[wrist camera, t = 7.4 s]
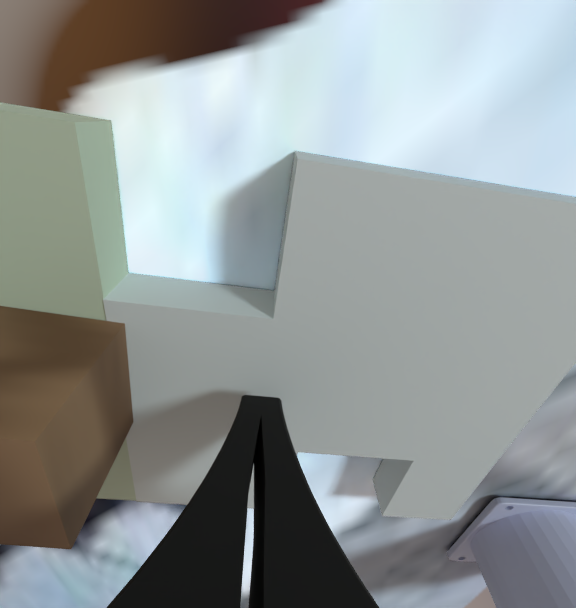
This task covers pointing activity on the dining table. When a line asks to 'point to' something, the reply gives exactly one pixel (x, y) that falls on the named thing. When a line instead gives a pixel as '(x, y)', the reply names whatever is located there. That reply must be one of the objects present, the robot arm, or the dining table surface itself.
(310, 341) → the plate
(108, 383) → the walnut block
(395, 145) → the dining table surface
